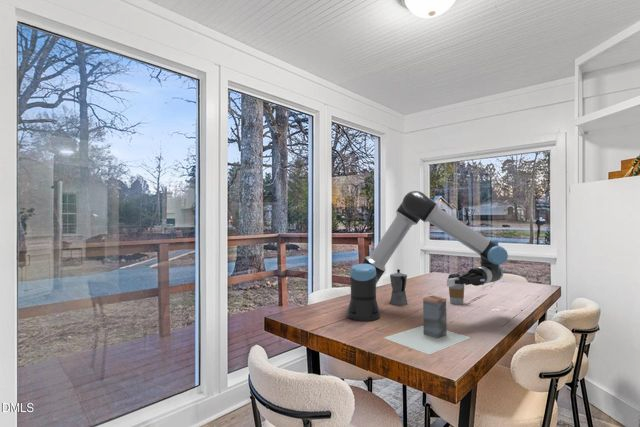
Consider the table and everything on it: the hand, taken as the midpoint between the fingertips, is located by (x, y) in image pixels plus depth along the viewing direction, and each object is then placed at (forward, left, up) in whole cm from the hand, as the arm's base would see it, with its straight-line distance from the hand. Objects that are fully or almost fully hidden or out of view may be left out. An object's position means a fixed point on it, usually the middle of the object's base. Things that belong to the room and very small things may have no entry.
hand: (448, 282), depth 136 cm
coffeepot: (-13, +44, -20) cm, 50 cm away
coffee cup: (+17, +46, -20) cm, 53 cm away
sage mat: (-11, -9, -19) cm, 24 cm away
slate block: (-7, -6, -19) cm, 21 cm away
